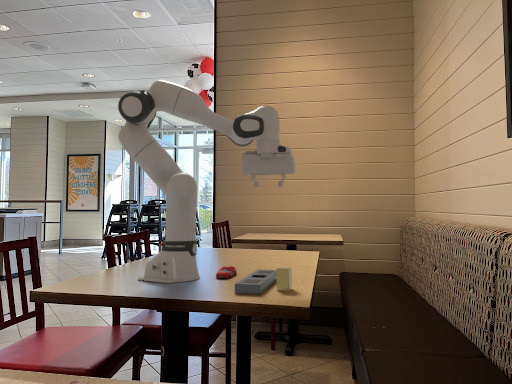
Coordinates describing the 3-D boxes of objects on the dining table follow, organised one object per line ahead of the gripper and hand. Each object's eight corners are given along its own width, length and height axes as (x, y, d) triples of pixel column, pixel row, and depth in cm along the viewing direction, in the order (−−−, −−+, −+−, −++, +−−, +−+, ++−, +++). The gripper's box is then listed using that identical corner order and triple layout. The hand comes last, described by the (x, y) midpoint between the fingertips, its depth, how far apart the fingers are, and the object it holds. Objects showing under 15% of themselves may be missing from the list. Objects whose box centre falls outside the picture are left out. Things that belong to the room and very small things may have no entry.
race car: (227, 280, 137) (227, 269, 137) (213, 280, 138) (213, 269, 139) (238, 274, 150) (238, 264, 150) (225, 274, 151) (225, 264, 151)
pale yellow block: (276, 290, 118) (276, 268, 119) (279, 288, 122) (279, 266, 122) (289, 291, 117) (289, 268, 117) (291, 288, 121) (291, 266, 121)
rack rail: (234, 293, 114) (234, 283, 114) (258, 277, 141) (257, 269, 141) (260, 294, 112) (260, 284, 112) (278, 278, 139) (278, 270, 139)
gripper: (239, 150, 141) (239, 186, 140) (293, 147, 136) (293, 185, 135) (244, 152, 147) (244, 187, 146) (295, 150, 142) (296, 186, 141)
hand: (268, 186), depth 141 cm, fingers open, 8 cm apart
